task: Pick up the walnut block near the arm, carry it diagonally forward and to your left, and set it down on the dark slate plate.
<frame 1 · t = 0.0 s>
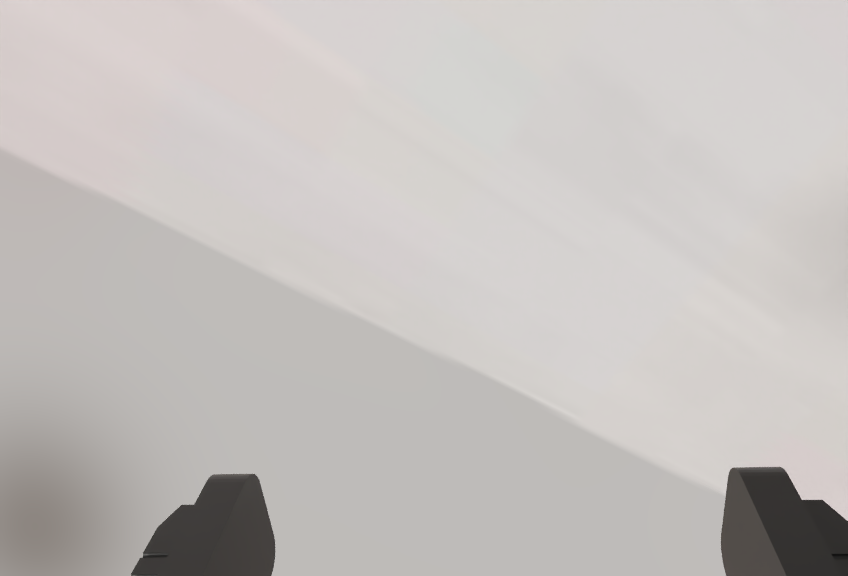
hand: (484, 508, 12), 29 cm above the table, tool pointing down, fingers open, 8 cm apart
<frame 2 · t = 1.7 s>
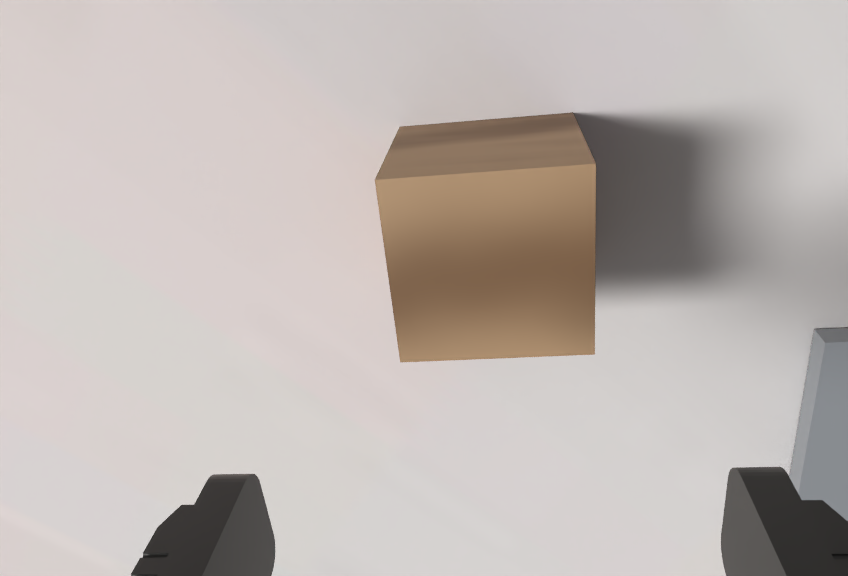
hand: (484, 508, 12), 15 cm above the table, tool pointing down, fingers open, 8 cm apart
walnut block: (490, 200, 26), on the table
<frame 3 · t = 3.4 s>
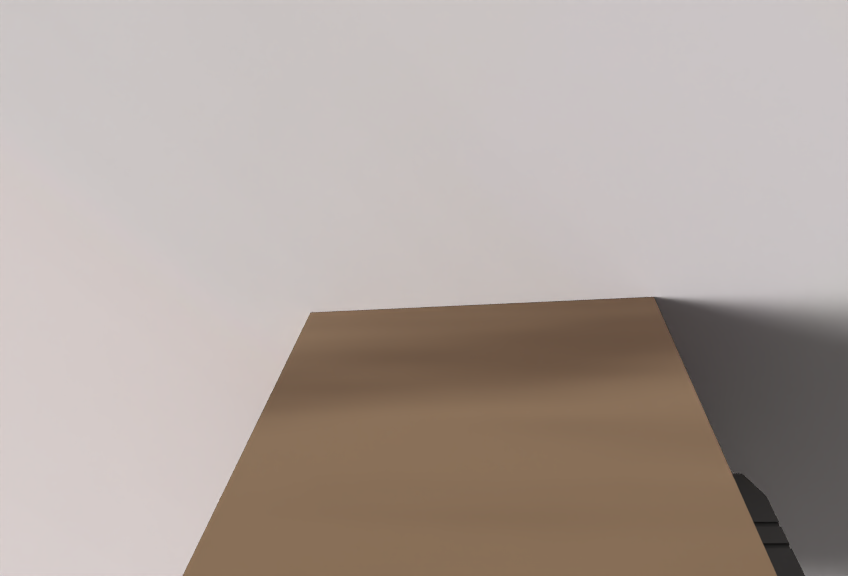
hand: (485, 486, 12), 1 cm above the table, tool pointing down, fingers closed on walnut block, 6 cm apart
walnut block: (487, 441, 14), on the table, touching gripper
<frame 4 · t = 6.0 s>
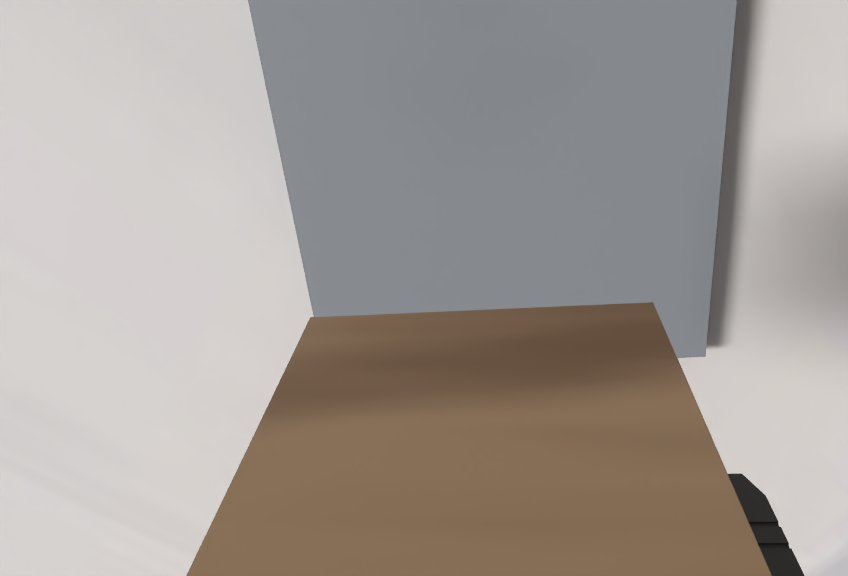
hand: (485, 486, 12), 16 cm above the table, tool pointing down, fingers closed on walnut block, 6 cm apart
slate plate: (497, 177, 27), on the table
walnut block: (486, 445, 14), point 15 cm above the table, touching gripper
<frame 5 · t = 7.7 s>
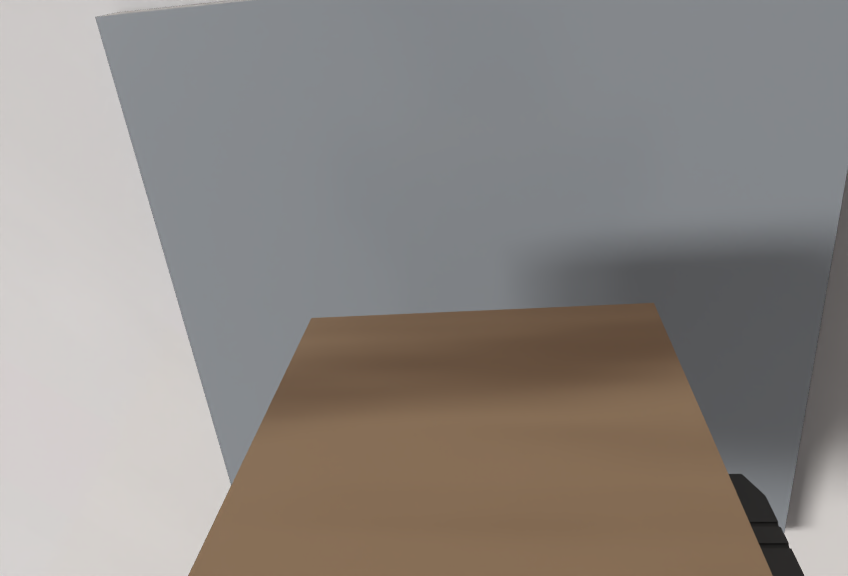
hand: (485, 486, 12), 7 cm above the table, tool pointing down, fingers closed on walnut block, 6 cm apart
slate plate: (488, 303, 19), on the table
walnut block: (487, 446, 14), point 6 cm above the table, touching gripper
when the fingers open (3 cm above the table, at t = 8.9 s): walnut block drops 1 cm, resting on slate plate.
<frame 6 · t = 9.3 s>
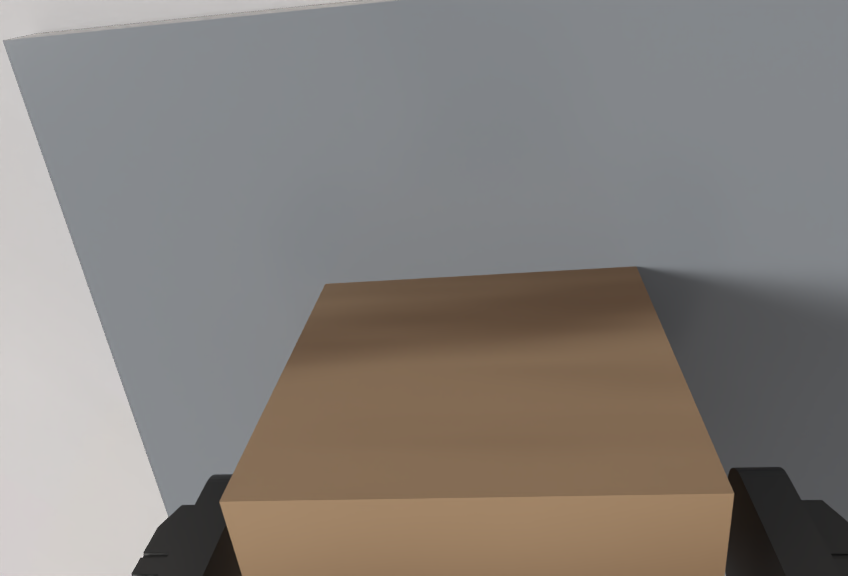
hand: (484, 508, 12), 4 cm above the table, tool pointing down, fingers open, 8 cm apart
slate plate: (487, 375, 16), on the table
walnut block: (486, 402, 15), point 1 cm above the table, touching slate plate
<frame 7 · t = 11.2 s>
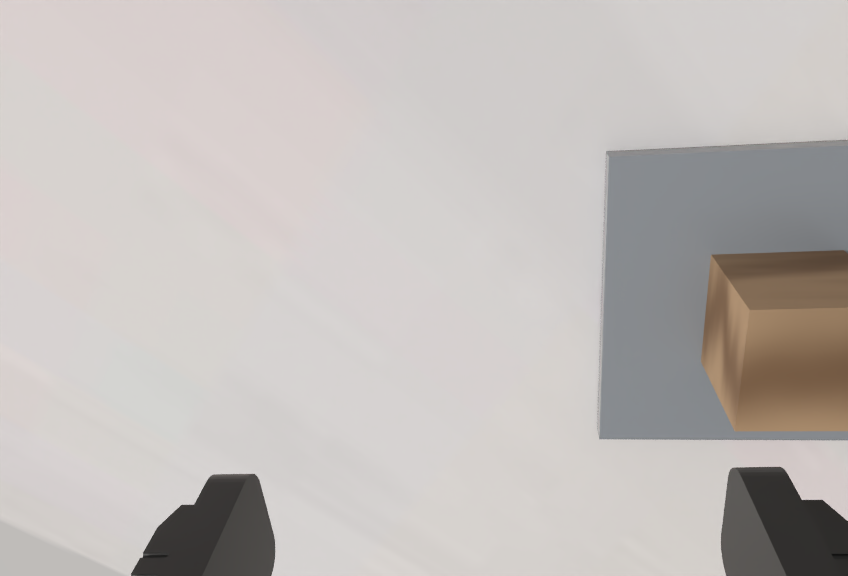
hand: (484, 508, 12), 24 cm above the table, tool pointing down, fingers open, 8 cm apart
slate plate: (762, 299, 35), on the table
walnut block: (768, 308, 35), point 1 cm above the table, touching slate plate
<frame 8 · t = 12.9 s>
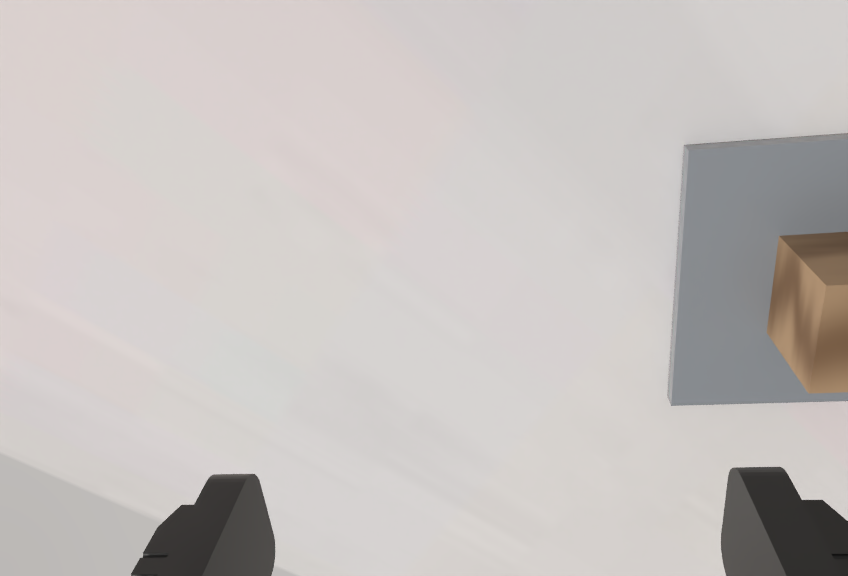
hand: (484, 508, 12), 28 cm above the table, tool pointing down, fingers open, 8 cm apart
slate plate: (822, 274, 39), on the table
walnut block: (830, 282, 38), point 1 cm above the table, touching slate plate
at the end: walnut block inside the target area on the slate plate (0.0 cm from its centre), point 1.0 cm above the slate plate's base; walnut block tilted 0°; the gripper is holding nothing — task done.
